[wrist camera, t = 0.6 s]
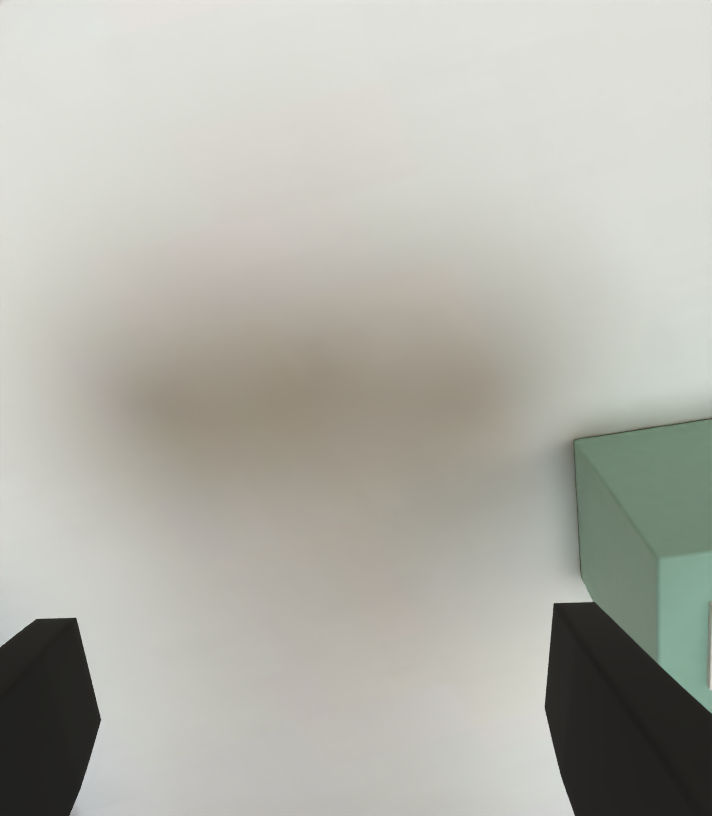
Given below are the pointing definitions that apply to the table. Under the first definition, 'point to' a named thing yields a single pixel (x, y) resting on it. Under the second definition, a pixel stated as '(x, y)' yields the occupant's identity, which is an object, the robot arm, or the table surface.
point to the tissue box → (652, 542)
